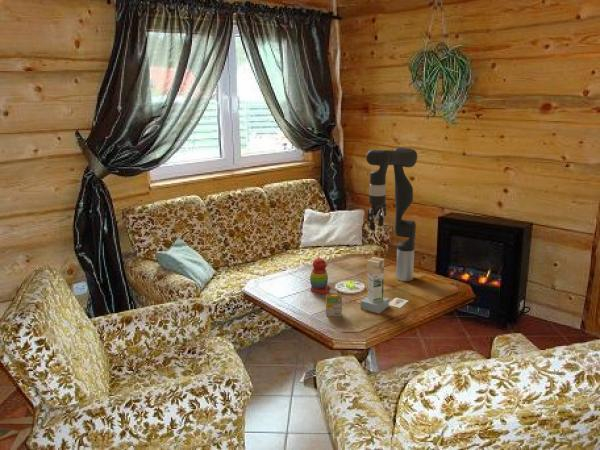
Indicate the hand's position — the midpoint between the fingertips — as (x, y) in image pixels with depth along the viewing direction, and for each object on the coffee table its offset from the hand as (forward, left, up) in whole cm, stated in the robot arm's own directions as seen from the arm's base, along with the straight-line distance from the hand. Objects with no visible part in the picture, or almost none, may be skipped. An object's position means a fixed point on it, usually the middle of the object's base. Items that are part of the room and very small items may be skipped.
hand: (376, 227), depth 234 cm
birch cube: (0, 0, -22) cm, 22 cm away
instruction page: (-11, +7, -40) cm, 42 cm away
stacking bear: (-3, -34, -40) cm, 53 cm away
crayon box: (+18, -12, -40) cm, 46 cm away
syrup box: (-1, 0, -36) cm, 36 cm away
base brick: (0, 0, -40) cm, 40 cm away
